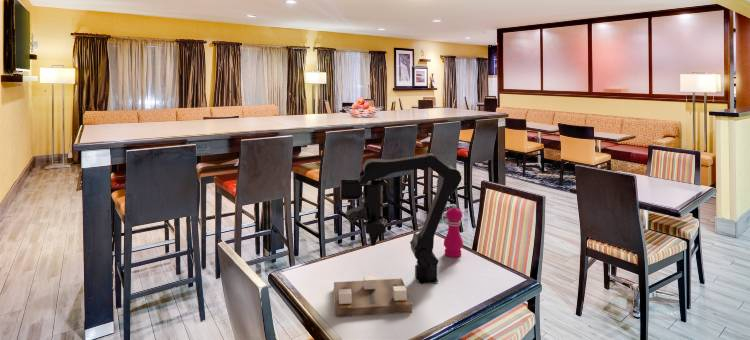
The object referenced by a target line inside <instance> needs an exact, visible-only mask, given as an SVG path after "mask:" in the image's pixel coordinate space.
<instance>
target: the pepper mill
mask: <svg viewBox="0 0 750 340" xmlns="http://www.w3.org/2000/svg"><path fill="white" fill-rule="evenodd" d="M445 216H446V219H447V223H446V224H447V225H448V228H447V230H448V231H447V233H446V236H445V237H444V240H443V246H444V247H445V248H444V255H445V256H446V257H449V258H452V259H453V258H454V257H456V258H460V257H461V256H462V248H463V246H464V241H463V238H462V235H461V234H460V226H461V223H462V222H461V220H462V218H463V212H462V210H461V209H459V208H458V206H457V204H456V203H455V204H454V203H453V204H452V205H451V207H450V208H449V209H447V211H446V213H445Z"/></svg>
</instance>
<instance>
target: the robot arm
mask: <svg viewBox="0 0 750 340" xmlns="http://www.w3.org/2000/svg"><path fill="white" fill-rule="evenodd" d="M427 168H430V169H431V170H432V171H434V172H435V173H436V174H437V178H436V179H437V180H436V191H435V194H434V197H433V200H432V202H431V204H430V208H429V210H428V213H427V215H426V217H425V219H424V222H423V225H422V228H421V229H420V231H419V232H418V233H417V232H413V235H412V239H411V240H410V242H409V244H410V249H411V252H412V254H413V255H414V257H415V259H416V264H415V265H414V278H415V279H416V281H417V282H418V284H421V285H422V284H438V283H439V280H438V277H437V276H438V264H439V259H438V258H437V256H436V254H435V253H434V252H433V251H434V243H435V242H434V240H435V239H434V238H435V235H436V232H437V229H438V227H439V224H440V222H441V219H442V217H443V214H444V212H445V208H446V207H447V205H448V204H447V203H448V201H449V199H450V197H451V195H453V193H455V191H456V190H457V188H458V187H459V185H460V183H461V181H462V178H463V177H462V174H461V172H460V171H459V170H458V169H456V168H455V167H453V166H452V165H446V164H445V163H443V162H442V161H441V160H439V159H438V158H437V157H436V156H435V155H434V154H433V153H429V152H428V153H426V154H421V155H413V156H408V157H407V156H406V157H402V158H401V157H400V158H394V159H387V158H367V159H366V160H365V161H364V163H363V165H362V170H361V171H360V172H359V173H358V175H357V177H356V178H345V177H344V178H340V187H339V189H340V190H339V192H340V193H339V194H340V201H350V200H351V201H352V200H353V201H354V200H359V199H361V197H362V196H363V200H362V201H361V203H362V204H361V205H359V206H355V207H353V208H350V209H348V210H346V211H345V215H346V217H347V220H348V222H349V224H351V225H352V224H354V223H355V222H357V221H360V220H362V219H363V221H362V225H363V227H364V228H363V229H364V231H365V234H367V235H368V236H369V241H370V246H372V247H373V246H376V244H377V241H378V239H379V237H380V235H381V234H385V233H387V226H386V223H385V222H384V221H382V220H383V214H382V207H383V202H382V192H383V191H382V189H383V188H382V186H388V182H387V181H386V180H385V179H384V178H385V177H387V176H389V175H391V174H395V173H399V172H400V173H402V172H406V171H413V170H420V169H427ZM362 187H363V188H362Z"/></svg>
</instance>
